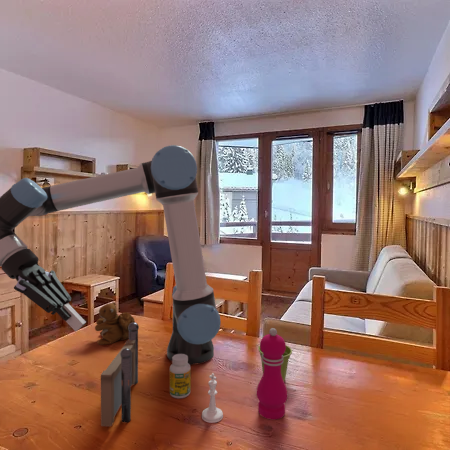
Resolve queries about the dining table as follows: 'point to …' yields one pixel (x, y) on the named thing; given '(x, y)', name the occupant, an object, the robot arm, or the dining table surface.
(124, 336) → the stuffed squirrel
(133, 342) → the gate leaf
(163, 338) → the dining table surface
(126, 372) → the gate posts
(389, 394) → the dining table surface
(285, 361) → the plant pot
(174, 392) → the supplement bottle
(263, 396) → the pepper mill
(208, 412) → the chess piece
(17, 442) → the dining table surface
